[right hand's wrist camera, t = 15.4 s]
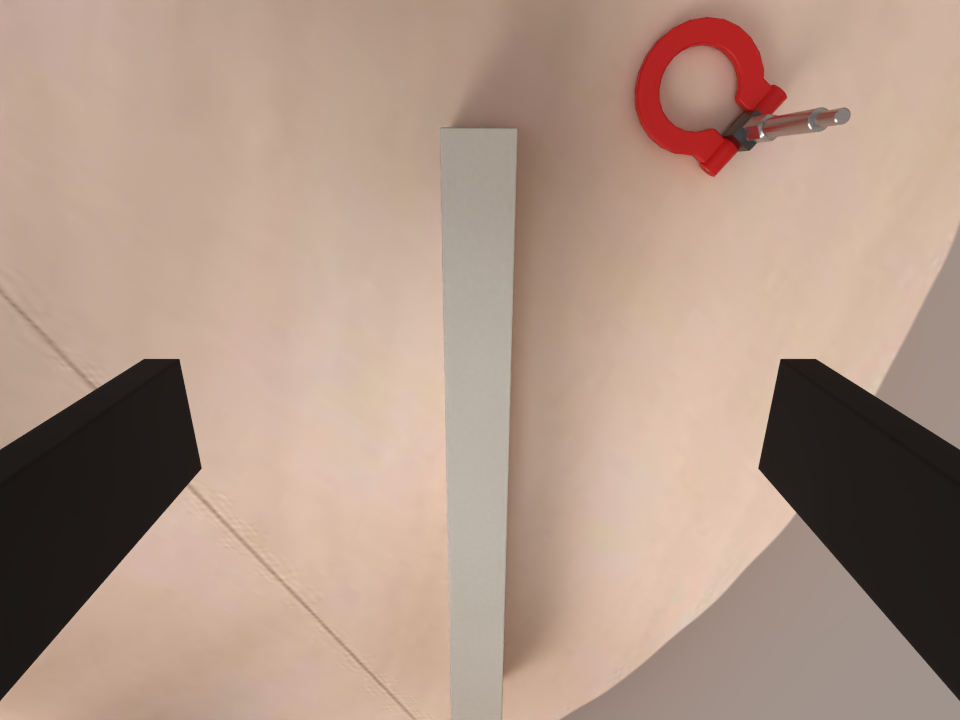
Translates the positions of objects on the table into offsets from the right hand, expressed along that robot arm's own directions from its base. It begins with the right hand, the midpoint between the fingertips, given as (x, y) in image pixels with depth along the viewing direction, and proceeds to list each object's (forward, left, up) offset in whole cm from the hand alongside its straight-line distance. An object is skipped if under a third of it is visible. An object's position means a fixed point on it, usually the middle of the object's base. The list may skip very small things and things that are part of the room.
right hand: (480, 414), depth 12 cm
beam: (+14, +15, -32) cm, 38 cm away
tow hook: (-17, +3, -32) cm, 36 cm away
